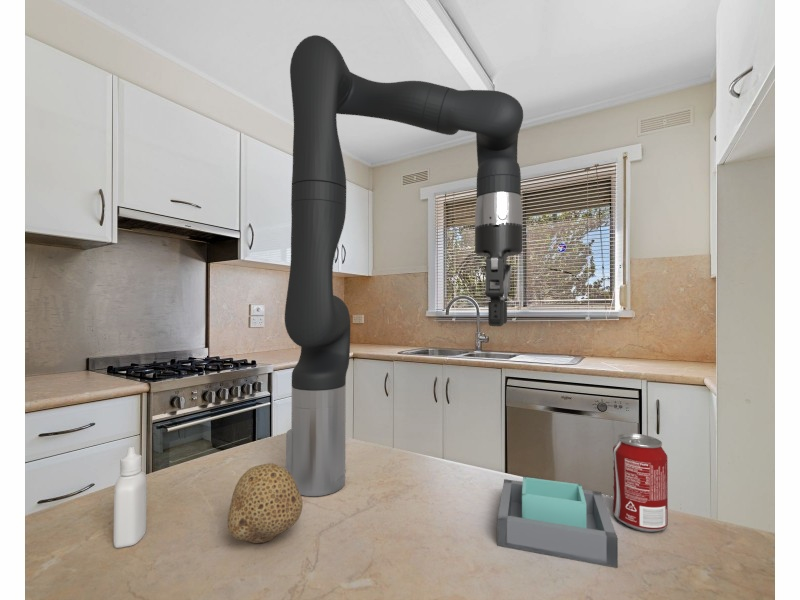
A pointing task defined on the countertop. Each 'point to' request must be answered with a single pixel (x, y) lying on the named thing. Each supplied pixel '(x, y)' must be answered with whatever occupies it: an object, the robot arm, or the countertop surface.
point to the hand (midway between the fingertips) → (498, 324)
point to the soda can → (640, 482)
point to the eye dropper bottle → (130, 501)
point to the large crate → (558, 530)
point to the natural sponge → (264, 504)
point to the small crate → (553, 502)
